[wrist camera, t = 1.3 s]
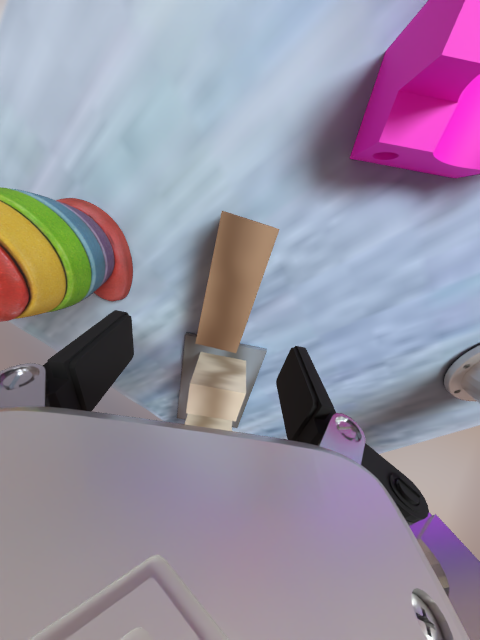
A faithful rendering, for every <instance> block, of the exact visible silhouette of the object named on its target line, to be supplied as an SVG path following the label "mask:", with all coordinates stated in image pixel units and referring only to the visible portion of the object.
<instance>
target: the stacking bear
mask: <svg viewBox="0 0 480 640" xmlns="http://www.w3.org/2000/svg"><path fill="white" fill-rule="evenodd" d="M132 278H133V265H132V258H131V254H130V250H129V247H128V244H127V241H126V239H125V236H124V234H123V232H122V231H121V229H120V228H119V226H118V225H117V224H116V222H115V221H114V220H113V219H112V218H111V217H110V216H109V215H108V214H107V213H106V212H104V211H103V210H102V209H100V208H99V207H97V206H95V205H94V204H91V203H89V202H87V201H84V200H80V199H75V198H65V199H59V200H56V201H55V200H52V199H50V198H48V197H44V196H41V195H38V194H34V193H30V192H26V191H22V190H17V189H8V188H0V322H1V321H8V320H12V319H16V318H23V317H29V316H33V315H38V314H42V313H45V312H52V311H56V310H60V309H63V308H66V307H69V306H72V305H74V304H76V303H78V302H80V301H82V300H83V299H85V298H86V297H88V296H89V295H91V294H92V293H93V292H94V293H95V294H96V295H98V296H99V297H101V298H103V299H106V300H109V301H116V300H121V299H123V298H125V297H126V296H127V295H128V293H129V290H130V287H131V283H132Z"/></svg>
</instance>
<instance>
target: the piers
mask: <svg viewBox="0 0 480 640" xmlns="http://www.w3.org/2000/svg"><path fill="white" fill-rule="evenodd" d="M196 337H197V335H196V334H191V333H186V335H185V344H184V354H183V364H182V374H181V383H180V393H179V403H178V413H177V418H180V419H186V421H185V424H186V425H192V426H199V427H206V428H213V429H220V430H227V431H232V427H234V428H237V427H238V425H239V422H240V419H241V417H242V414H243V412H244V409H245V406H246V404H247V401H248V399H249V396H250V393H251V391H252V388H253V386H254V383H255V380H256V378H257V375H258V373H259V370H260V367H261V365H262V362H263V360H264V357H265V354H266V352H267V351H266V349H264V348H259V347H255V346H250V345H245V344H239V346H238V349H237V352H236V353H233V352H229V351H225V350H220V349H216V348H212V347H208V346H204V345H199V344H195V342H196Z"/></svg>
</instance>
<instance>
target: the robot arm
mask: <svg viewBox="0 0 480 640" xmlns="http://www.w3.org/2000/svg"><path fill="white" fill-rule="evenodd" d="M133 355H134V348H133V334H132V320H131V316H129V315H128V313H127V312H122V311H117V310H115V311H113V312H112V313H110V314H109V315H108V316H106V317H105V318H104V319H102V320H101V321H100V322H98V323H97V324H96V325H94V326H93V327H92V328H90V329H89V330H88V331H86V332H85V333H83V334H82V335H81V336H79V337H78V338H77V339H75V340H74V341H73V342H71V343H70V344H69V345H67V346H66V347H65V348H63V349H62V350H61V351H59V352H58V353H57V354H55V355H54V356H52V357H51V358H50V359H48V362H47V363H46V364H45V365H43V366H42V365H40V364H35V363H27V364H20V365H16V366H13V367H9V368H7V369H5V370H2V371H0V640H480V561H479V560H478V559H477V558H476V557H475V556H474V555H473V554H472V553H471V552H470V550H469V549H468V548H467V547H466V546H465V545H464V544H463V543H462V542H461V541H460V540H459V539H458V538H457V537H456V535H454V533H453V532H452V531H451V530H450V529H449V528H448V527H447V526H446V525H445V524H444V523H443V522H442V520H441V519H440V518H439V517H438V516H437V515H433V516H432V515H431V514H430V513H429V510H428V505H427V503H426V501H425V498H424V497H423V495H422V494H421V492H420V491H419V489H418V488H417V487H416V486H415V485H414V484H413V482H412V481H410V480H409V479H408V478H407V477H406V476H405V475H404V474H402V473H401V472H400V471H399V470H397V469H396V468H395V467H394V466H393V465H391V464H390V463H389V462H388V461H386V460H385V459H384V458H383V457H381V456H380V455H379V454H378V453H377V452H375V451H374V450H373V449H372V448H370V447H369V446H368V445H367V444H366V443H365V435H364V432H363V431H362V429H361V427H360V426H359V425H358V424H357V423H356V422H355V421H354V420H353V419H352V418H350V417H348V416H347V415H344V414H341V413H336V412H335V410H334V407H333V405H332V402H331V400H330V398H329V396H328V394H327V392H326V390H325V388H324V386H323V384H322V381H321V379H320V377H319V375H318V373H317V371H316V369H315V367H314V365H313V363H312V360H311V358H310V356H309V354H308V352H307V350H306V348H303V347H298V346H295V347H294V348H291V350H290V352H289V354H288V356H287V358H286V360H285V363H284V365H283V367H282V369H281V371H280V373H279V375H278V378H277V381H276V384H277V389H278V394H279V399H280V404H281V409H282V414H283V419H284V424H285V429H286V434H287V438H288V440H286V439H280V438H274V437H267V436H260V435H254V434H247V433H240V432H234V431H227V430H220V429H213V428H206V427H199V426H192V425H186V424H179V423H172V422H165V421H157V420H150V419H142V418H136V417H129V416H121V415H114V414H107V413H99V412H91V411H92V410H93V409H94V407H95V406H96V405H97V404H98V402H99V401H100V400H101V398H102V397H103V396H104V394H105V393H106V392H107V391H108V389H109V388H110V387H111V385H112V384H113V383H114V382H115V380H116V379H117V378H118V376H119V375H120V374H121V372H122V371H123V370H124V369H125V367H126V366H127V365H128V363H129V362H130V361H131V359H132V358H133ZM444 385H445V388H446V389H447V390H448V391H449V392H450V393H451V394H452V395H453V396H455V397H456V398H458V399H461V400H466V401H478V402H479V403H480V345H479V346H477V347H475V348H473V349H471V350H470V351H468V352H467V353H465V354H464V355H462V356H461V357H460V358H459V359H457V360H456V361H455V362H454V363H453V364H452V365H451V367H450V368H449V369H448V371H447V373H446V375H445V378H444Z"/></svg>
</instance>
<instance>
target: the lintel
mask: <svg viewBox="0 0 480 640" xmlns="http://www.w3.org/2000/svg"><path fill="white" fill-rule="evenodd" d="M278 232H279V229H277V228H274V227H271V226H268V225H265V224H262V223H259V222H256V221H253V220H250V219H247V218H243V217H240V216H237V215H234V214H231V213H228V212H224V211H222V213H221V218H220V223H219V228H218V233H217V238H216V243H215V248H214V253H213V258H212V263H211V268H210V273H209V278H208V283H207V288H206V293H205V298H204V303H203V308H202V313H201V318H200V323H199V328H198V332H197V337H196V342H195V344H199V345H204V346H208V347H212V348H216V349H220V350H225V351H229V352H233V353H236V352H237V349H238V346H239V344H240V341H241V338H242V335H243V332H244V329H245V326H246V323H247V321H248V318H249V315H250V312H251V309H252V306H253V303H254V301H255V298H256V295H257V292H258V289H259V286H260V283H261V280H262V278H263V275H264V272H265V269H266V266H267V263H268V260H269V258H270V255H271V252H272V249H273V246H274V243H275V240H276V237H277V235H278Z"/></svg>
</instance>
